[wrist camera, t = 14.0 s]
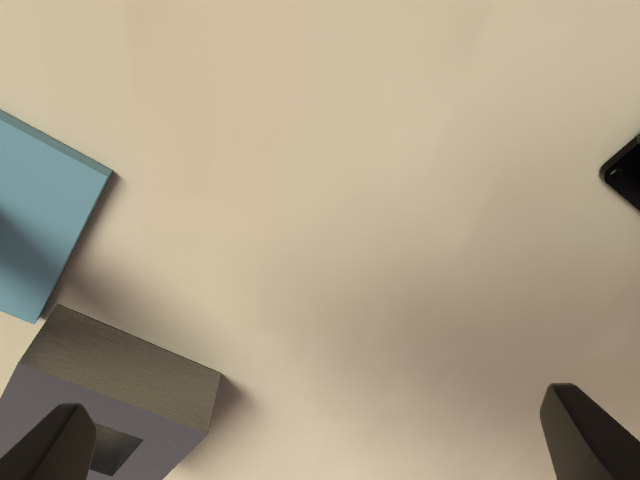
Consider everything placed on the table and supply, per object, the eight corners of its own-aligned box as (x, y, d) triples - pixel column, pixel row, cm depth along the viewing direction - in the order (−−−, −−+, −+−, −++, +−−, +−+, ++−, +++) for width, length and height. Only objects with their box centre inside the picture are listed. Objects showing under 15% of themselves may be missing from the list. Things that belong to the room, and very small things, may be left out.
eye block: (221, 373, 29) (208, 433, 25) (154, 447, 33) (136, 505, 30) (57, 304, 25) (18, 362, 22) (9, 397, 30) (-29, 456, 27)
